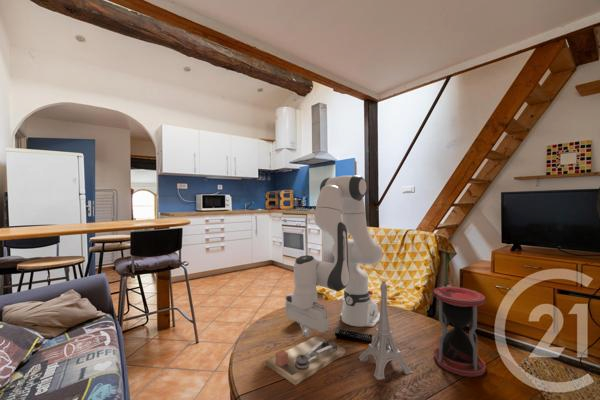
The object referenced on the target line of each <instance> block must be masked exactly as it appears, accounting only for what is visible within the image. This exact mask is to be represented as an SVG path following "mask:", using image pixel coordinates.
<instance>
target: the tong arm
mask: <svg viewBox="0 0 600 400" xmlns="http://www.w3.org/2000/svg"><path fill="white" fill-rule="evenodd" d="M329 342H330V341H329V340H328V339H326V338H322V340H321V341H320V342H319V343H318V344H316V345H315V346H314V347H313V348H312V349H311V350H310V351H309V352H308V353H307V354H305V355H300V356H297V358H296V363H297V364H298V365H306V364H307V363H308V358H309V357H310V356H311V355H313V356H315V355H316V351H318V350H320V349H322V348H323V347H324V348H325V347H327V346H328V344H329Z"/></svg>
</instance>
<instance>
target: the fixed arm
mask: <svg viewBox="0 0 600 400" xmlns="http://www.w3.org/2000/svg"><path fill="white" fill-rule="evenodd" d="M337 346H338V344H337V343H336V342H333V341H332V342H330V343H329V344H328V346H327V347H325V348H322V349H320V350H318V351H316V355H315V356H313V357H311V358H309V359H308V363H307V364H306V365H298V364H297V363H296V362H295V367H296V368H297V369H299V370H305V369H307V368H309V363H311V362H313V361H315V360H317V359H320V358H322V357H324V356H326V355H329V354H331V353H333V352H335V351H337Z"/></svg>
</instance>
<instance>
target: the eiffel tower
mask: <svg viewBox="0 0 600 400" xmlns="http://www.w3.org/2000/svg"><path fill="white" fill-rule="evenodd" d="M379 286H380V288H379V291H380V310H379V312H380V316H379V321H378V326H377V328H376V329H375V330H376V333H375V335H374V338H373V340H372V341H371V343H369V344H368V347H367V348H366V349H365V350H364V351H363V353H362V354H361V355H359V356H358V357H357V358H358V359H359V361H360V362H362V363H363V362H368V361H369V357H371V356H373V357H374V360H375V371H374V374H373V376H374V377H375V379H376V380H377V381H380V380H384V379H386V377H385V368H386V366H387V363H388V362H390V361H396V362H398V365H400V370H401V371H402V372H403V373H404V374H405V375H409V374H413V373H414V371H412V370H411V368H410V367H409V366H408V364H407V363H406V361H405V359H404V358H403V356H402V355H401V353H402V351H400V350H399V349H398V348H397V346H396V344H395V341H394V339H393V338H394V337H393V336H392V334H393V331H391V326H390V321H389V311H388V309H389V308H388V298H387V297H388V296H387V295H388V291H389V289H388V285H387V284H386V280H384V279H383V280H382V281H381V284H380V285H379Z"/></svg>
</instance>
